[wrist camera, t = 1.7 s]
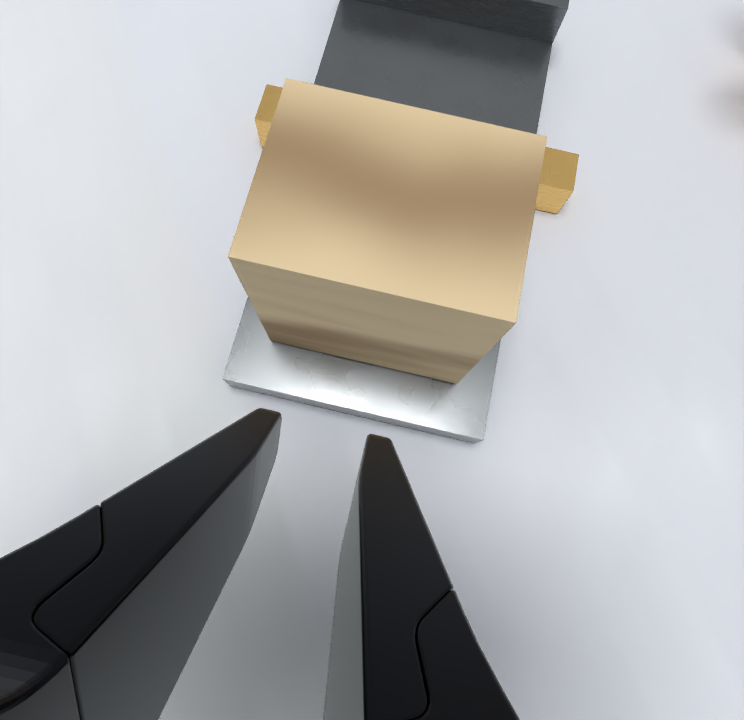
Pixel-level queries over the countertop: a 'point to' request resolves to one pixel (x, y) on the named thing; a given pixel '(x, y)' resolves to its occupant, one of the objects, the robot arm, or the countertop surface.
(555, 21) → the metal tray
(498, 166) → the tan wooden block
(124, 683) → the robot arm
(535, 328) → the countertop surface
